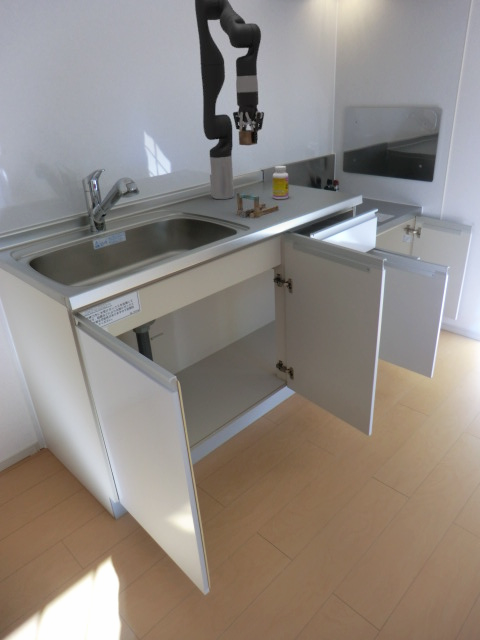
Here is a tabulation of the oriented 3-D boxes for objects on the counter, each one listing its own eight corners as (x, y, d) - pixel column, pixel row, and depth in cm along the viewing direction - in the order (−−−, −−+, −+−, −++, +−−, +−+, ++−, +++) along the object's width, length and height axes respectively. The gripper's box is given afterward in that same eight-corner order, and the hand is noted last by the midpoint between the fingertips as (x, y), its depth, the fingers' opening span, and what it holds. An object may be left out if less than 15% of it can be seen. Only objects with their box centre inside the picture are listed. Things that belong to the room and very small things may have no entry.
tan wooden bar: (240, 217, 181) (239, 209, 179) (257, 212, 186) (256, 205, 185) (245, 218, 179) (245, 210, 178) (262, 213, 184) (262, 206, 183)
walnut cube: (239, 144, 175) (238, 131, 173) (248, 143, 178) (247, 129, 176) (248, 145, 172) (247, 131, 170) (257, 143, 175) (256, 130, 173)
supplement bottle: (287, 199, 201) (287, 167, 195) (271, 199, 202) (271, 168, 196) (289, 196, 206) (289, 165, 201) (274, 196, 208) (273, 165, 202)
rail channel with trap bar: (235, 214, 184) (234, 194, 180) (261, 206, 192) (261, 187, 189) (253, 218, 177) (253, 198, 174) (280, 210, 186) (280, 190, 182)
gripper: (269, 89, 165) (270, 142, 173) (240, 90, 174) (243, 140, 182) (254, 90, 160) (255, 145, 168) (225, 91, 170) (228, 142, 178)
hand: (249, 142), depth 175 cm, fingers closed on walnut cube, 4 cm apart
